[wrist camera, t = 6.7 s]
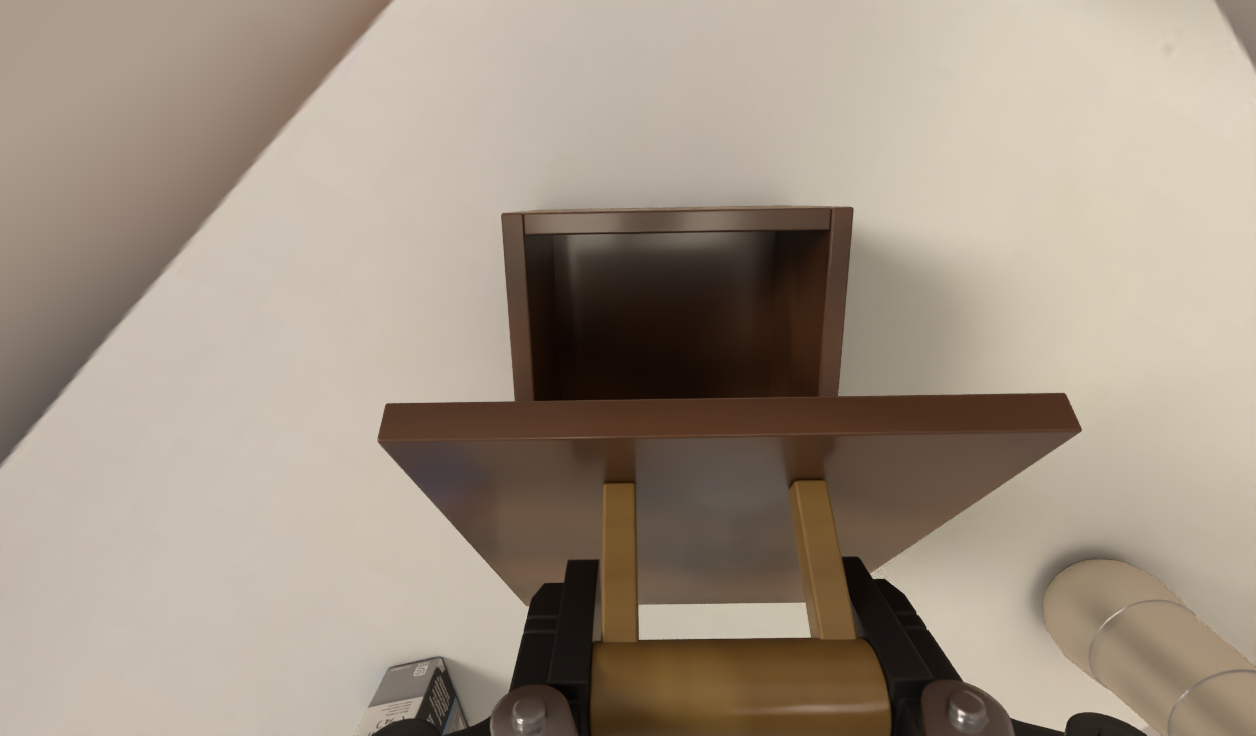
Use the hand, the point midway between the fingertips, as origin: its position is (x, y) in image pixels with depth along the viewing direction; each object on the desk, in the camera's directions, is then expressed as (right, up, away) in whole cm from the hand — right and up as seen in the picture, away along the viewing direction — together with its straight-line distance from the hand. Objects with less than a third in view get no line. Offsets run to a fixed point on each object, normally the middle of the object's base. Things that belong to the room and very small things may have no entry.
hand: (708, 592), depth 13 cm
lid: (0, 0, +4) cm, 4 cm away
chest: (0, +6, +18) cm, 19 cm away
